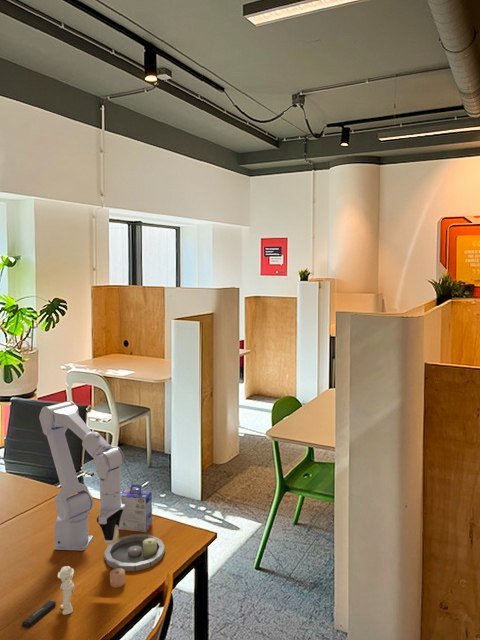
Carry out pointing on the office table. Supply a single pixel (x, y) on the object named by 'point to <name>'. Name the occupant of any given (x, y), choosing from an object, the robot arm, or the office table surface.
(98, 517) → the robot arm
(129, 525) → the ink cartridge box
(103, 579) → the office table surface
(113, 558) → the tray
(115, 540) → the bead cream
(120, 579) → the bead terracotta
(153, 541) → the bead olive
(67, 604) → the hat wearing toy figure
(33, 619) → the usb stick
